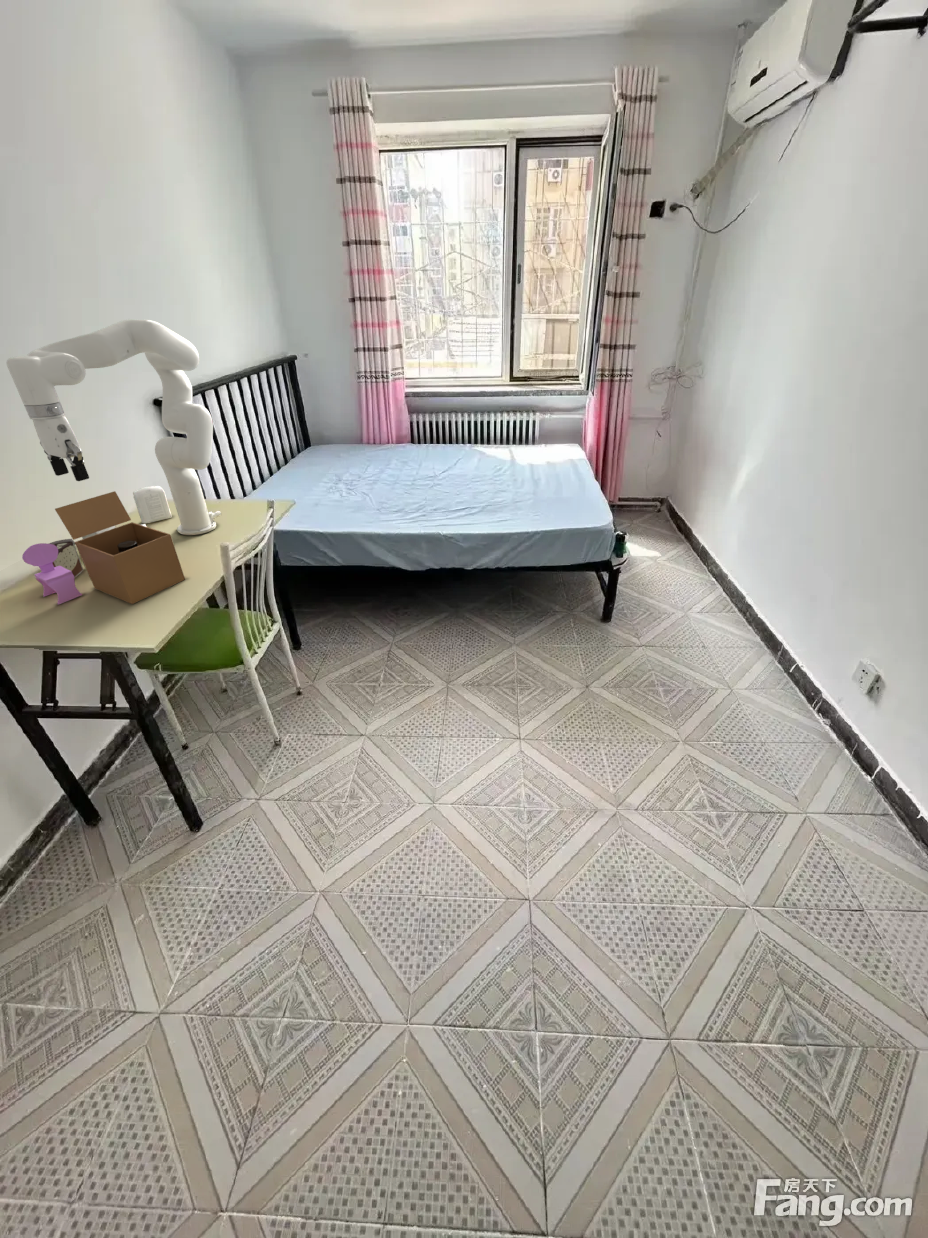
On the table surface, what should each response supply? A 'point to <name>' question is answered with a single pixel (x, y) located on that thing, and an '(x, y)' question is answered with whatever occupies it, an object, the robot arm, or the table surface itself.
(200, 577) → the table surface
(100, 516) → the carton flap
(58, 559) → the food container
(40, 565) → the toy chair
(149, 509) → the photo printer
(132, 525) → the carton
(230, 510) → the table surface
